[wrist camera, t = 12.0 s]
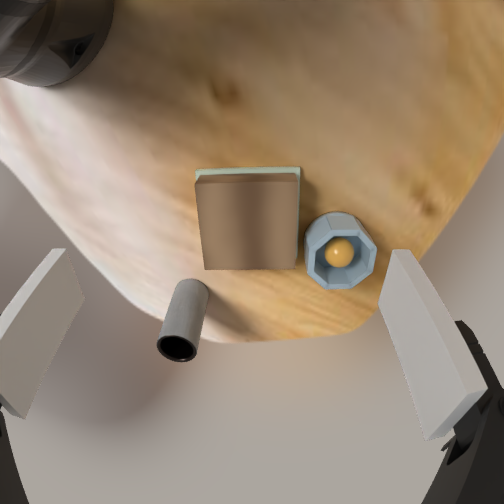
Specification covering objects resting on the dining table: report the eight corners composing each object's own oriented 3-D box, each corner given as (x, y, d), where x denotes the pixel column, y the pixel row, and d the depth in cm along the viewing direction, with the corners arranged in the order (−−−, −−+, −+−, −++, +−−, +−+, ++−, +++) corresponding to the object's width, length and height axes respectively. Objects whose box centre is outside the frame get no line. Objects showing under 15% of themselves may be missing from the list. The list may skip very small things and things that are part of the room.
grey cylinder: (174, 301, 43) (156, 357, 34) (177, 274, 40) (156, 331, 32) (206, 308, 43) (194, 366, 34) (211, 282, 41) (198, 340, 32)
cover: (208, 255, 38) (204, 269, 35) (200, 175, 33) (194, 184, 30) (293, 254, 38) (295, 268, 35) (295, 172, 32) (298, 181, 30)
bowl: (301, 267, 39) (305, 290, 35) (304, 211, 35) (309, 229, 32) (360, 266, 39) (369, 288, 35) (368, 211, 35) (380, 229, 31)
